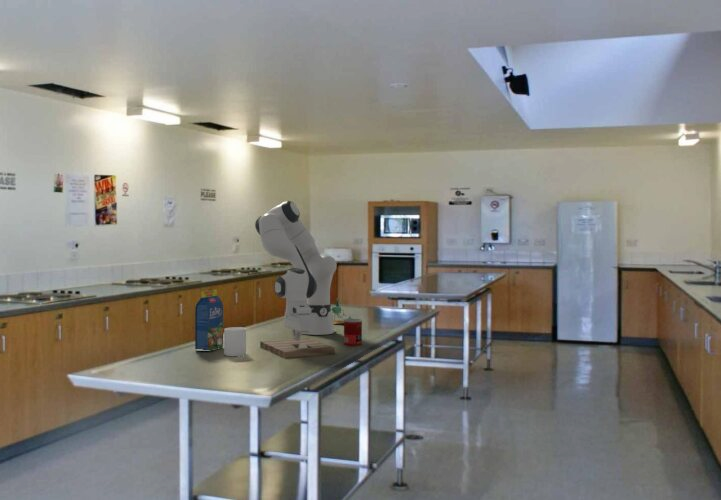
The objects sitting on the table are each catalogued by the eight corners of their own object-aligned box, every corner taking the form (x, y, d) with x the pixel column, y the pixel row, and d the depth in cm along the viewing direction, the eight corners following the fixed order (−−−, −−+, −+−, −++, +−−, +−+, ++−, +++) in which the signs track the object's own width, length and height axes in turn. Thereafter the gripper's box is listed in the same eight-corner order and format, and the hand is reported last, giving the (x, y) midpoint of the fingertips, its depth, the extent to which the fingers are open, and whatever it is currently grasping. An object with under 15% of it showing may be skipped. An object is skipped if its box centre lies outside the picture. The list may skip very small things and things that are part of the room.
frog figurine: (352, 325, 368) (349, 298, 368) (320, 328, 373) (317, 300, 372) (357, 323, 377) (354, 296, 377) (325, 325, 382) (322, 298, 382)
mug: (253, 352, 287) (253, 326, 286) (239, 357, 275) (239, 330, 275) (235, 351, 290) (235, 325, 289) (220, 356, 278) (220, 329, 278)
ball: (295, 347, 287) (298, 342, 284) (304, 346, 289) (307, 341, 286) (297, 355, 285) (301, 350, 282) (306, 354, 287) (310, 349, 284)
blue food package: (194, 351, 289) (194, 291, 288) (210, 346, 300) (210, 288, 299) (207, 352, 287) (207, 291, 286) (223, 347, 298) (223, 289, 297)
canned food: (359, 346, 303) (360, 321, 303) (342, 345, 305) (342, 320, 305) (363, 343, 311) (363, 318, 310) (345, 342, 312) (345, 318, 312)
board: (260, 347, 300) (260, 341, 299) (307, 343, 310) (307, 338, 310) (284, 358, 275) (284, 351, 275) (334, 353, 285) (334, 347, 285)
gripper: (280, 305, 299) (280, 337, 299) (298, 310, 280) (298, 344, 281) (294, 304, 301) (294, 336, 302) (313, 309, 283) (313, 343, 284)
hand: (296, 340), depth 291 cm, fingers closed
